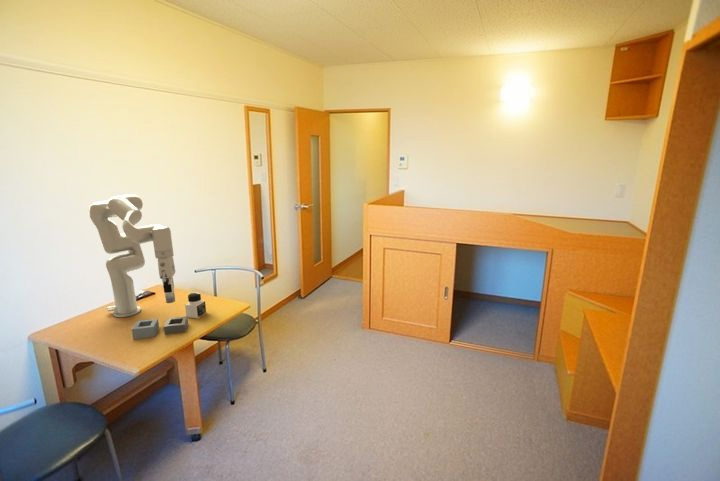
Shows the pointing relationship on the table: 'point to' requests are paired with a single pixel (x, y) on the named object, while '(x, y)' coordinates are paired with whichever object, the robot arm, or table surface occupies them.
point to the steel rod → (170, 293)
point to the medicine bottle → (195, 306)
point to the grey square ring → (176, 325)
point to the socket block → (145, 328)
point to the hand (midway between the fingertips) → (169, 290)
